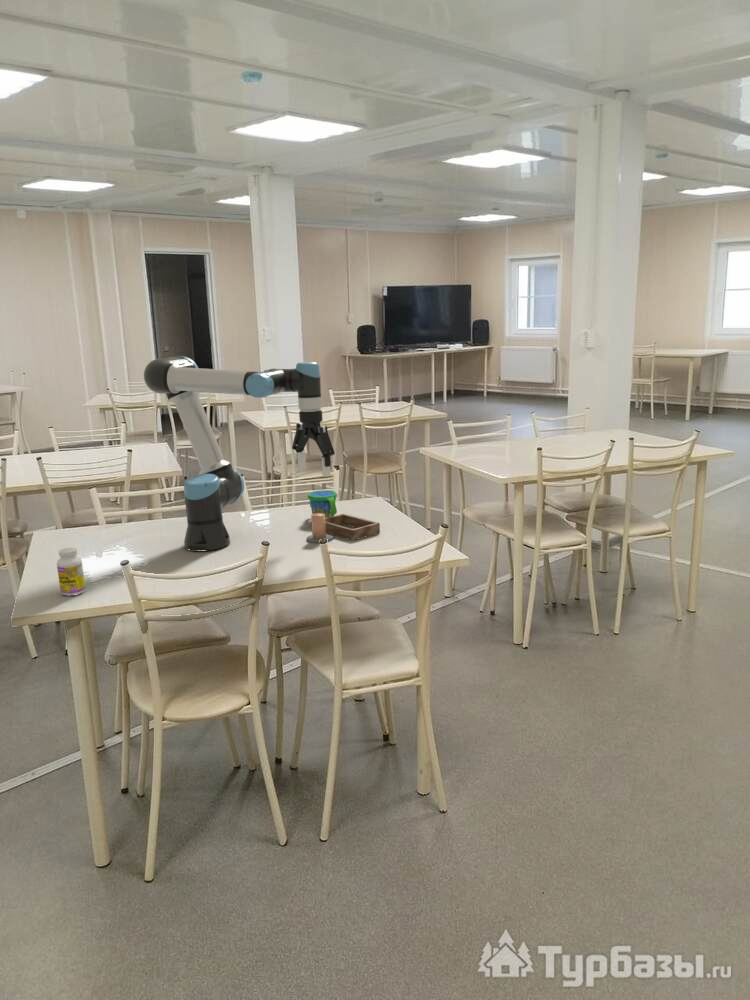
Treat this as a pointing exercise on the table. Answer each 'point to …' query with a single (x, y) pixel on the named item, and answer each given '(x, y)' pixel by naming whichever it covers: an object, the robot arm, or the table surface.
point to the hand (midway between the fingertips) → (314, 473)
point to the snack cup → (323, 502)
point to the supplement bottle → (70, 572)
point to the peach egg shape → (318, 526)
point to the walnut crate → (362, 525)
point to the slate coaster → (310, 539)
